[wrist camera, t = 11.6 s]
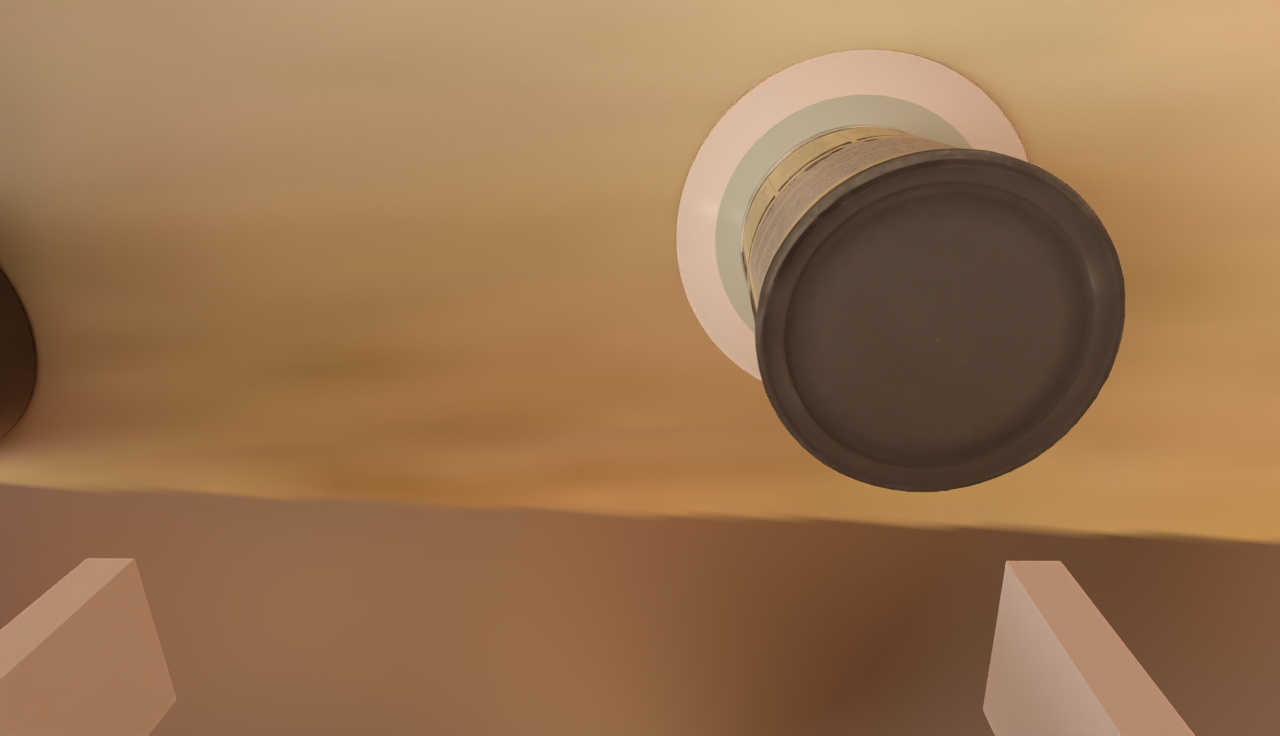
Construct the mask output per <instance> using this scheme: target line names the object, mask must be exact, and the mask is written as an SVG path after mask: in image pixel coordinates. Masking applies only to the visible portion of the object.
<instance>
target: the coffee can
mask: <svg viewBox="0 0 1280 736" xmlns="http://www.w3.org/2000/svg"><path fill="white" fill-rule="evenodd" d="M740 257H741V264H742V270H743V273H744V276H745V281H746V282H747V286H748V292H749V297H750V303H751V308H752V313H753V318H754V322H755V347H756V354H757V361H758V367H759V371H760V375H761V379H762V382H763V385H764V388H765V391H766V393H767V396H768V398H769V400H770V402H771V405H772V406H773V408H774V410H775V411H776V413H777V415H778V417H779V419H780V420H781V422H782V423H783V424H784V426H785V427H786V429H787V430H788V431H789V432H790V434H791V435H792V436H793V437H794V438H795V439H796V440H797V441H798V442H799V444H800V445H801V446H802V447H803V448H804V449H806V450H807V451H808V452H809V453H810V454H812V455H813V456H814V457H815V458H817V459H818V460H819V461H821V462H822V463H823V464H825V465H827V466H828V467H830V468H832V469H834V470H836V471H837V472H839V473H841V474H844V475H846V476H848V477H850V478H853V479H855V480H858V481H861V482H864V483H867V484H870V485H874V486H878V487H882V488H887V489H891V490H899V491H907V492H938V491H948V490H951V489H957V488H963V487H968V486H972V485H975V484H979V483H982V482H985V481H988V480H990V479H993V478H996V477H999V476H1001V475H1003V474H1006V473H1008V472H1011V471H1013V470H1015V469H1017V468H1019V467H1021V466H1023V465H1025V464H1026V463H1028V462H1030V461H1032V460H1033V459H1035V458H1037V457H1038V456H1039V455H1041V454H1042V453H1043V452H1045V451H1046V450H1048V449H1049V448H1051V447H1052V446H1053V445H1054V444H1055V443H1056V442H1057V441H1059V440H1060V439H1061V438H1062V437H1063V436H1064V435H1065V434H1067V433H1068V431H1069V430H1070V429H1071V428H1072V427H1073V426H1074V425H1075V424H1076V423H1077V422H1078V421H1079V419H1080V418H1081V417H1082V416H1083V415H1084V413H1085V412H1086V411H1087V409H1088V408H1089V407H1090V405H1091V404H1092V403H1093V401H1094V400H1095V399H1096V397H1097V395H1098V393H1099V391H1100V389H1101V388H1102V386H1103V385H1104V383H1105V381H1106V380H1107V378H1108V376H1109V373H1110V371H1111V369H1112V366H1113V364H1114V361H1115V358H1116V355H1117V352H1118V349H1119V345H1120V342H1121V338H1122V332H1123V327H1124V318H1125V290H1124V278H1123V274H1122V270H1121V266H1120V262H1119V259H1118V255H1117V252H1116V249H1115V247H1114V245H1113V243H1112V240H1111V238H1110V236H1109V235H1108V233H1107V231H1106V229H1105V228H1104V226H1103V224H1102V222H1101V221H1100V219H1099V218H1098V216H1097V215H1096V213H1095V212H1094V211H1093V210H1092V208H1091V207H1090V206H1089V205H1088V204H1087V203H1086V201H1085V200H1084V199H1083V198H1082V197H1081V196H1080V195H1078V194H1077V193H1076V192H1075V191H1074V190H1073V189H1072V188H1071V187H1069V186H1068V185H1067V184H1065V183H1064V182H1063V181H1061V180H1060V179H1058V178H1057V177H1055V176H1054V175H1052V174H1050V173H1049V172H1047V171H1045V170H1043V169H1041V168H1040V167H1037V166H1035V165H1033V164H1030V163H1028V162H1026V161H1023V160H1020V159H1017V158H1014V157H1011V156H1008V155H1004V154H1001V153H997V152H993V151H986V150H978V149H963V148H958V147H955V146H951V145H947V144H943V143H940V142H936V141H933V140H929V139H925V138H920V137H917V136H914V135H911V134H909V133H906V132H904V131H901V130H898V129H894V128H890V127H885V126H879V125H863V124H861V125H849V126H842V127H837V128H833V129H830V130H826V131H822V132H820V133H817V134H815V135H813V136H811V137H809V138H807V139H806V140H804V141H802V142H800V143H798V144H797V145H795V146H794V147H792V148H791V149H790V150H789V151H787V152H786V153H785V154H784V155H782V156H781V157H780V158H779V159H777V161H776V162H775V163H774V164H773V165H772V166H771V167H770V168H769V170H768V171H767V172H766V173H765V175H764V176H763V177H762V179H761V180H760V182H759V183H758V185H757V187H756V188H755V190H754V192H753V193H752V195H751V196H750V199H749V202H748V205H747V208H746V211H745V214H744V216H743V221H742V227H741V232H740Z"/></svg>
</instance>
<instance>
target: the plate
mask: <svg viewBox="0 0 1280 736" xmlns="http://www.w3.org/2000/svg"><path fill="white" fill-rule="evenodd" d="M861 124H863V125H879V126H885V127H890V128H894V129H898V130H901V131H904V132H906V133H909V134H911V135H914V136H917V137H920V138H925V139H929V140H933V141H936V142H940V143H943V144H947V145H951V146H955V147H958V148H963V149H978V150H986V151H993V152H997V153H1001V154H1004V155H1008V156H1011V157H1014V158H1017V159H1020V160H1023V161H1026V162H1028V159H1027V156H1026V153H1025V151H1024V148H1023V145H1022V143H1021V142H1020V140H1019V138H1018V136H1017V134H1016V132H1015V130H1014V128H1013V126H1012V125H1011V123H1010V122H1009V121H1008V119H1007V118H1006V117H1005V115H1004V114H1003V112H1002V111H1001V110H1000V108H999V107H998V106H997V105H996V104H995V103H994V102H993V101H992V100H991V99H990V98H989V97H988V96H987V95H986V94H985V93H984V92H983V91H982V90H981V89H980V88H979V87H977V86H976V85H975V84H973V83H972V82H970V81H969V80H968V79H966V78H965V77H964V76H962V75H961V74H959V73H957V72H955V71H953V70H951V69H949V68H947V67H946V66H944V65H942V64H940V63H937V62H934V61H931V60H928V59H926V58H923V57H920V56H917V55H912V54H907V53H902V52H897V51H891V50H871V49H864V50H852V51H841V52H836V53H831V54H827V55H822V56H818V57H813V58H810V59H808V60H805V61H802V62H800V63H797V64H794V65H792V66H789V67H787V68H785V69H783V70H781V71H779V72H778V73H776V74H774V75H772V76H770V77H768V78H767V79H765V80H764V81H762V82H761V83H759V84H758V85H757V86H755V87H754V88H752V89H751V90H749V91H748V92H747V93H746V94H745V95H743V96H742V97H741V98H740V99H739V100H738V101H737V102H736V103H735V104H734V105H732V106H731V107H730V108H729V109H728V110H727V112H726V113H725V114H724V115H723V116H722V118H721V119H720V120H719V121H718V122H717V123H716V125H715V126H714V127H713V128H712V130H711V132H710V133H709V135H708V136H707V138H706V139H705V141H704V142H703V144H702V145H701V147H700V149H699V151H698V153H697V155H696V157H695V159H694V161H693V163H692V165H691V167H690V170H689V173H688V176H687V179H686V182H685V185H684V188H683V192H682V196H681V201H680V206H679V211H678V218H677V233H676V244H677V259H678V265H679V270H680V275H681V280H682V284H683V287H684V290H685V293H686V295H687V298H688V301H689V304H690V306H691V308H692V310H693V312H694V314H695V316H696V318H697V320H698V322H699V323H700V324H701V326H702V327H703V329H704V330H705V332H706V333H707V335H708V336H709V338H710V339H711V340H712V341H713V342H714V343H715V345H716V346H717V347H718V348H719V349H720V350H721V351H722V352H723V353H724V354H725V355H726V356H727V357H728V358H729V359H730V360H732V361H733V362H734V363H735V364H736V365H737V366H739V367H740V368H741V369H743V370H744V371H746V372H747V373H749V374H750V375H752V376H753V377H755V378H757V379H758V380H760V381H762V379H761V375H760V371H759V367H758V361H757V354H756V347H755V322H754V318H753V313H752V308H751V303H750V297H749V292H748V286H747V282H746V281H745V276H744V273H743V270H742V264H741V257H740V232H741V227H742V221H743V216H744V214H745V211H746V208H747V205H748V202H749V199H750V196H751V195H752V193H753V192H754V190H755V188H756V187H757V185H758V183H759V182H760V180H761V179H762V177H763V176H764V175H765V173H766V172H767V171H768V170H769V168H770V167H771V166H772V165H773V164H774V163H775V162H776V161H777V159H779V158H780V157H781V156H782V155H784V154H785V153H786V152H787V151H789V150H790V149H791V148H792V147H794V146H795V145H797V144H798V143H800V142H802V141H804V140H806V139H807V138H809V137H811V136H813V135H815V134H817V133H820V132H822V131H826V130H830V129H833V128H837V127H842V126H849V125H861ZM1028 163H1029V162H1028Z"/></svg>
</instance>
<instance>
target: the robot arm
mask: <svg viewBox="0 0 1280 736" xmlns="http://www.w3.org/2000/svg"><path fill="white" fill-rule="evenodd" d="M34 377H35V355H34V347H33V342H32V337H31V333H30V329H29V326H28V323H27V320H26V317H25V314H24V312H23V310H22V307H21V305H20V303H19V301H18V299H17V297H16V295H15V293H14V291H13V290H12V288H11V286H10V285H9V283H8V281H7V280H6V278H5V277H4V275H3V274H2V273H1V271H0V437H2V436H3V435H4V434H6V433H7V432H8V431H9V430H10V429H11V428H12V427H13V426H14V425H15V424H16V423H17V421H18V420H19V419H20V417H21V416H22V414H23V412H24V411H25V409H26V407H27V404H28V402H29V399H30V396H31V393H32V389H33V384H34ZM175 701H176V696H175V692H174V689H173V686H172V682H171V679H170V675H169V672H168V669H167V665H166V662H165V659H164V655H163V652H162V649H161V645H160V642H159V639H158V635H157V632H156V628H155V625H154V622H153V618H152V615H151V612H150V608H149V605H148V602H147V598H146V595H145V592H144V588H143V585H142V581H141V578H140V575H139V571H138V568H137V565H136V561H135V559H133V558H132V559H131V558H87V559H86V560H84V561H83V562H82V563H81V564H80V565H78V566H77V567H76V568H75V569H73V570H72V571H71V572H70V573H69V574H67V575H66V576H65V577H64V578H63V579H61V580H60V581H59V582H58V583H57V584H56V585H54V586H53V587H52V588H51V589H49V590H48V591H47V592H46V593H44V594H43V595H42V596H41V597H40V598H38V599H37V600H36V601H35V602H34V603H32V604H31V605H30V606H29V607H28V608H27V609H25V610H24V611H23V612H22V613H20V614H19V615H18V616H17V617H15V618H14V619H13V620H12V621H11V622H10V623H8V624H7V625H6V626H5V627H3V628H2V629H1V630H0V736H148V735H149V734H150V732H151V731H152V730H153V728H154V727H155V726H156V725H157V723H158V722H159V721H160V720H161V718H162V717H163V716H164V715H165V713H166V712H167V711H168V710H169V708H170V707H171V706H172V704H173V703H174V702H175ZM983 711H984V713H985V715H986V717H987V719H988V721H989V724H990V726H991V728H992V730H993V732H994V734H995V736H1195V735H1194V734H1193V733H1192V731H1191V730H1190V729H1189V727H1188V726H1187V725H1186V723H1185V722H1184V721H1183V720H1182V718H1181V717H1180V716H1179V714H1178V713H1177V712H1176V710H1175V709H1174V708H1173V707H1172V705H1171V704H1170V703H1169V701H1168V700H1167V699H1166V697H1165V696H1164V695H1163V693H1162V692H1161V691H1160V690H1159V688H1158V687H1157V686H1156V684H1155V683H1154V682H1153V681H1152V679H1151V678H1150V677H1149V675H1148V674H1147V673H1146V671H1145V670H1144V669H1143V667H1142V666H1141V665H1140V664H1139V663H1138V661H1137V660H1136V659H1135V657H1134V656H1133V655H1132V653H1131V652H1130V651H1129V649H1128V648H1127V647H1126V645H1125V644H1124V643H1123V642H1122V640H1121V639H1120V638H1119V636H1118V635H1117V634H1116V632H1115V631H1114V630H1113V629H1112V627H1111V626H1110V625H1109V623H1108V622H1107V621H1106V619H1105V618H1104V617H1103V616H1102V615H1101V613H1100V612H1099V610H1098V609H1097V608H1096V607H1095V605H1094V604H1093V603H1092V601H1091V600H1090V599H1089V598H1088V596H1087V595H1086V593H1085V592H1084V591H1083V590H1082V588H1081V587H1080V586H1079V584H1078V583H1077V582H1076V580H1075V579H1074V578H1073V577H1072V575H1071V574H1070V573H1069V571H1068V570H1067V569H1066V567H1065V566H1064V565H1063V564H1062V562H1061V561H1006V566H1005V573H1004V579H1003V586H1002V592H1001V598H1000V604H999V611H998V617H997V624H996V630H995V636H994V643H993V649H992V655H991V661H990V668H989V675H988V680H987V687H986V693H985V700H984V706H983Z"/></svg>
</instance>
